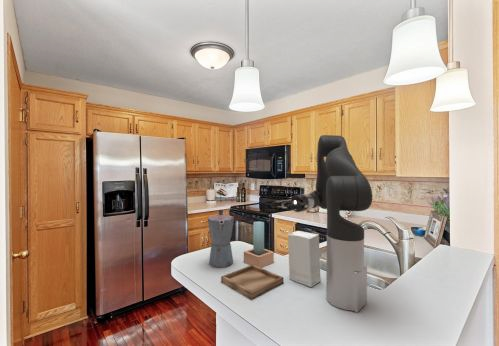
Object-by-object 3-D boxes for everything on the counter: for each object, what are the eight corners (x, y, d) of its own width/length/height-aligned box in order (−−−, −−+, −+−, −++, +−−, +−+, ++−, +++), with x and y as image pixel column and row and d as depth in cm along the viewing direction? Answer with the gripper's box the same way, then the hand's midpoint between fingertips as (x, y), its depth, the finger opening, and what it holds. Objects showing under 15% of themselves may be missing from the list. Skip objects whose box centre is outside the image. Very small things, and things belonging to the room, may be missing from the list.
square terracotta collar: (273, 262, 89) (273, 251, 89) (258, 268, 84) (258, 257, 83) (258, 256, 95) (258, 246, 95) (243, 262, 89) (243, 251, 89)
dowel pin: (266, 262, 89) (266, 222, 89) (258, 265, 86) (258, 224, 86) (258, 259, 92) (258, 221, 92) (251, 262, 89) (251, 222, 89)
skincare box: (320, 282, 74) (321, 234, 74) (310, 288, 70) (310, 238, 69) (298, 273, 80) (298, 229, 80) (287, 279, 76) (287, 232, 75)
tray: (283, 283, 73) (283, 277, 73) (251, 299, 63) (251, 293, 63) (252, 269, 83) (252, 264, 83) (221, 282, 73) (221, 276, 73)
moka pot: (209, 272, 80) (209, 213, 80) (206, 256, 95) (206, 206, 95) (236, 269, 82) (236, 212, 82) (229, 254, 97) (230, 205, 97)
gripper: (289, 193, 114) (266, 196, 102) (316, 195, 103) (293, 199, 92) (289, 208, 114) (266, 213, 103) (316, 213, 103) (293, 218, 92)
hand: (279, 206), depth 97 cm, fingers open, 8 cm apart
